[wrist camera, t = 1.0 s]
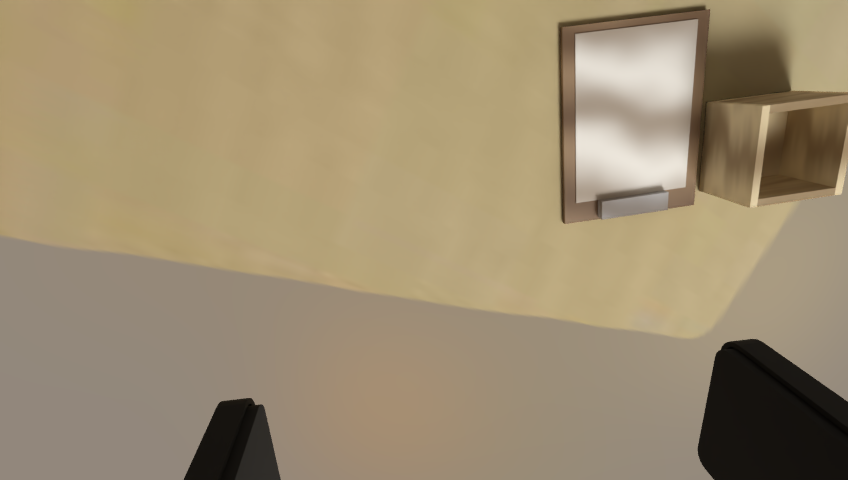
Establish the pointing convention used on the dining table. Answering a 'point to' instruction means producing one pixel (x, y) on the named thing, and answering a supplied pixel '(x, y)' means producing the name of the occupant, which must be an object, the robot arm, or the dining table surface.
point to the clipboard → (631, 114)
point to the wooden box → (775, 147)
